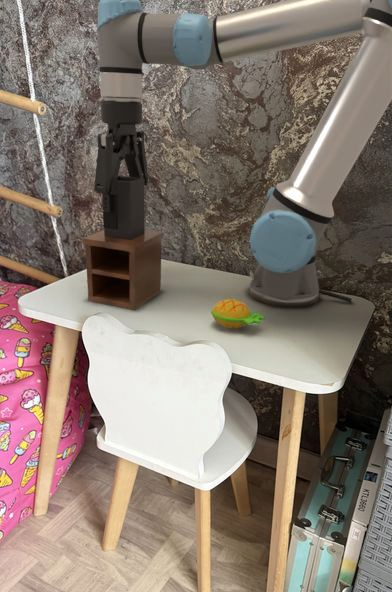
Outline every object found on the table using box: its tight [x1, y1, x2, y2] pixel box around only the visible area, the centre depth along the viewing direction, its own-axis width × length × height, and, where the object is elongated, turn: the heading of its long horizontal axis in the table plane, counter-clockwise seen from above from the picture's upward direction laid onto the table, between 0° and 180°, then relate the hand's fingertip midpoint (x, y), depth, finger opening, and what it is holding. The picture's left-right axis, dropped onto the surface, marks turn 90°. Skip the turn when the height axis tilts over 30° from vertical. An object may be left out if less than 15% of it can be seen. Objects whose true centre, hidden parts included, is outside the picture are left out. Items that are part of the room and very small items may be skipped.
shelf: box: [82, 229, 164, 311], centre depth 109 cm, size 12×13×13 cm
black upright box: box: [103, 175, 146, 240], centre depth 104 cm, size 6×6×11 cm
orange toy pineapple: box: [210, 298, 265, 329], centre depth 98 cm, size 7×10×5 cm
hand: (124, 223), depth 105 cm, fingers open, 10 cm apart
